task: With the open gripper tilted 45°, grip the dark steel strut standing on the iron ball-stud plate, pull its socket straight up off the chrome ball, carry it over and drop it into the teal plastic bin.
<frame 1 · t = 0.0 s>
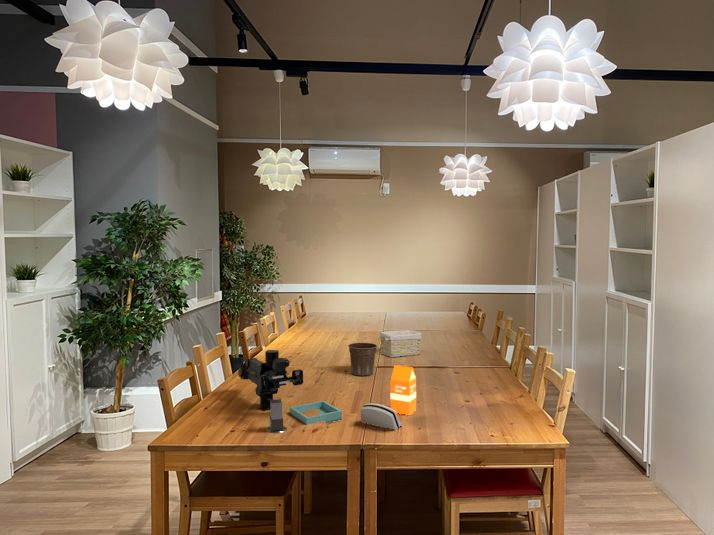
hand: (290, 384, 198), 17 cm above the table, tool horizontal, fingers open, 9 cm apart
bin: (315, 418, 206), on the table
strut: (276, 429, 190), point 1 cm above the table, touching stud plate
plant pot: (362, 374, 277), on the table
orange juice: (403, 412, 214), on the table
magnetic glass cleaner: (379, 426, 198), on the table
storage basket: (400, 354, 325), on the table
stud plate: (276, 433, 190), on the table
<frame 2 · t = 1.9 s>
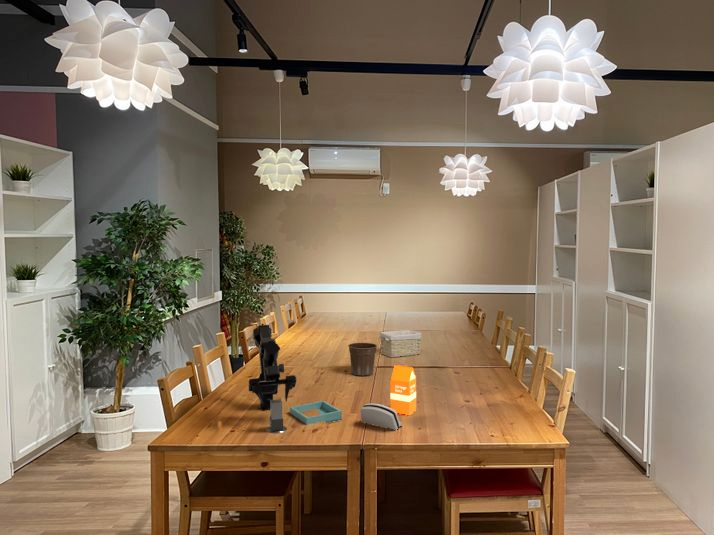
hand: (274, 402, 194), 11 cm above the table, tool tilted 45°, fingers open, 9 cm apart
nothing on the table moved.
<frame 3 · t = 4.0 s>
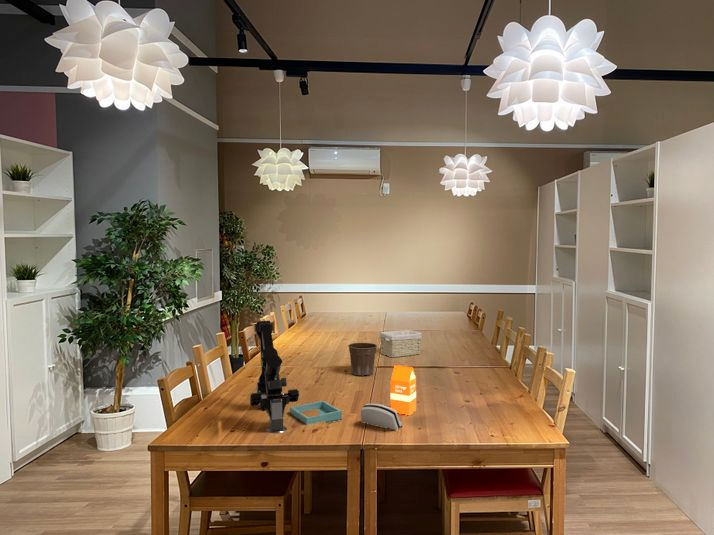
hand: (276, 417, 189), 7 cm above the table, tool tilted 45°, fingers closed on strut, 4 cm apart
strut: (276, 429, 190), point 2 cm above the table, touching gripper, stud plate
everything else where it was.
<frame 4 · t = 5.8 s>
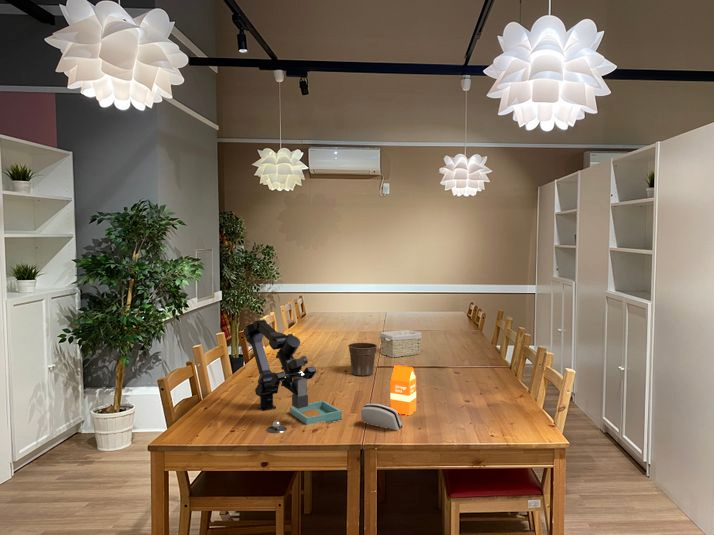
hand: (301, 394, 195), 13 cm above the table, tool tilted 45°, fingers closed on strut, 4 cm apart
strut: (300, 405, 197), point 8 cm above the table, touching gripper
everything else where it was.
when the fingers open (8 cm above the table, at t = 7.8 s): strut drops 2 cm, resting on bin.
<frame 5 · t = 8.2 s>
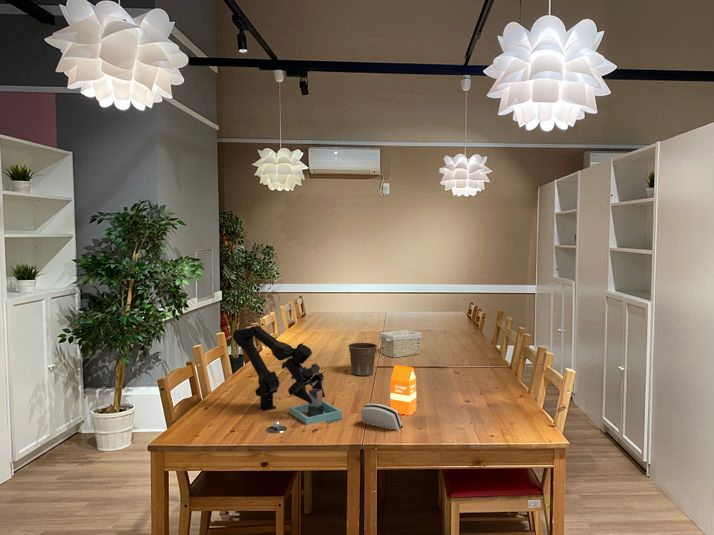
hand: (318, 400, 205), 8 cm above the table, tool tilted 45°, fingers open, 9 cm apart
strut: (315, 416, 206), point 1 cm above the table, touching bin
everything else where it was.
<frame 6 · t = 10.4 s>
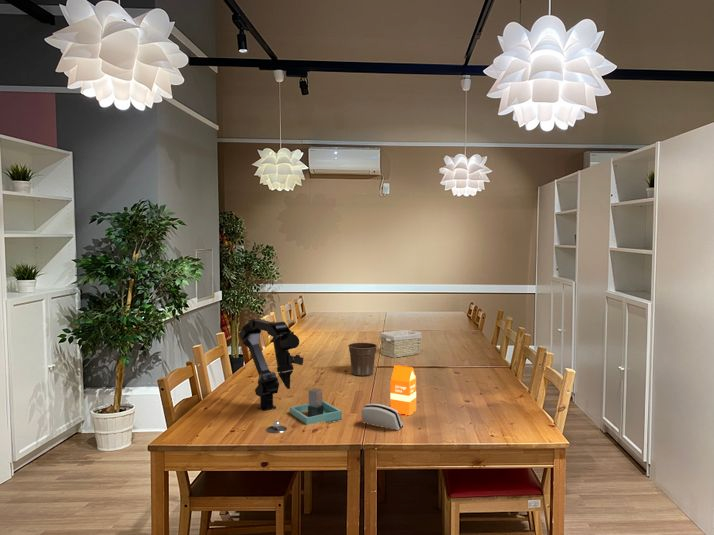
hand: (288, 388, 207), 12 cm above the table, tool tilted 15°, fingers open, 9 cm apart
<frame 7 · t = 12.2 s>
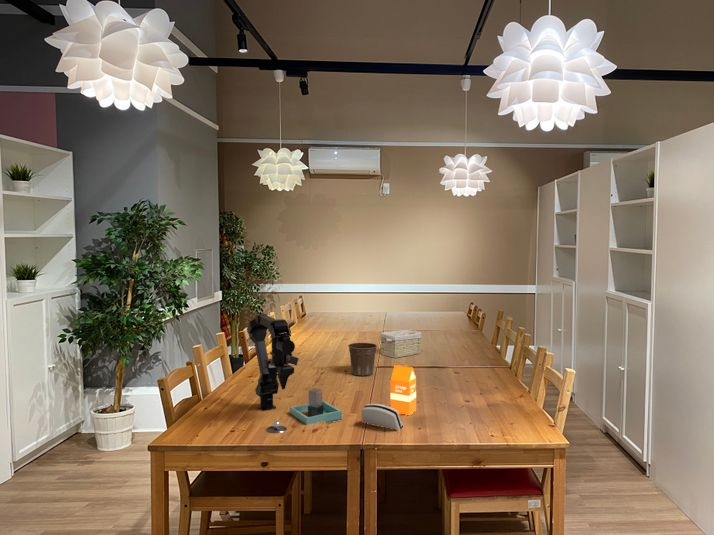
hand: (279, 386, 208), 13 cm above the table, tool pointing down, fingers open, 9 cm apart
at the end: strut inside the target area on the bin (0.1 cm from its centre), point 1.0 cm above the bin's base; the gripper is holding nothing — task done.
